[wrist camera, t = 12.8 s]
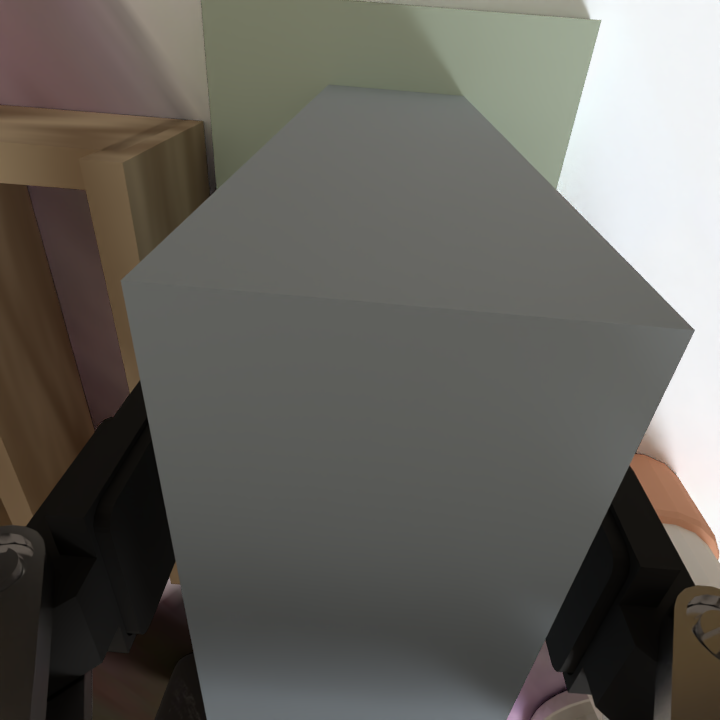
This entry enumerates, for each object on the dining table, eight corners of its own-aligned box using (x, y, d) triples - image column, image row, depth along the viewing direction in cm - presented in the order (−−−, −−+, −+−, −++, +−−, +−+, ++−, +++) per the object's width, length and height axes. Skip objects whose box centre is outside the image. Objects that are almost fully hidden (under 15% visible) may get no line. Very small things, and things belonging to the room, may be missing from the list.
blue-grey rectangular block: (463, 96, 15) (695, 329, 4) (415, 394, 21) (444, 848, 10) (328, 84, 15) (120, 281, 4) (318, 385, 21) (228, 828, 10)
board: (592, 20, 15) (601, 20, 14) (487, 424, 23) (489, 436, 22) (208, -11, 15) (200, -12, 14) (239, 403, 23) (235, 415, 22)
